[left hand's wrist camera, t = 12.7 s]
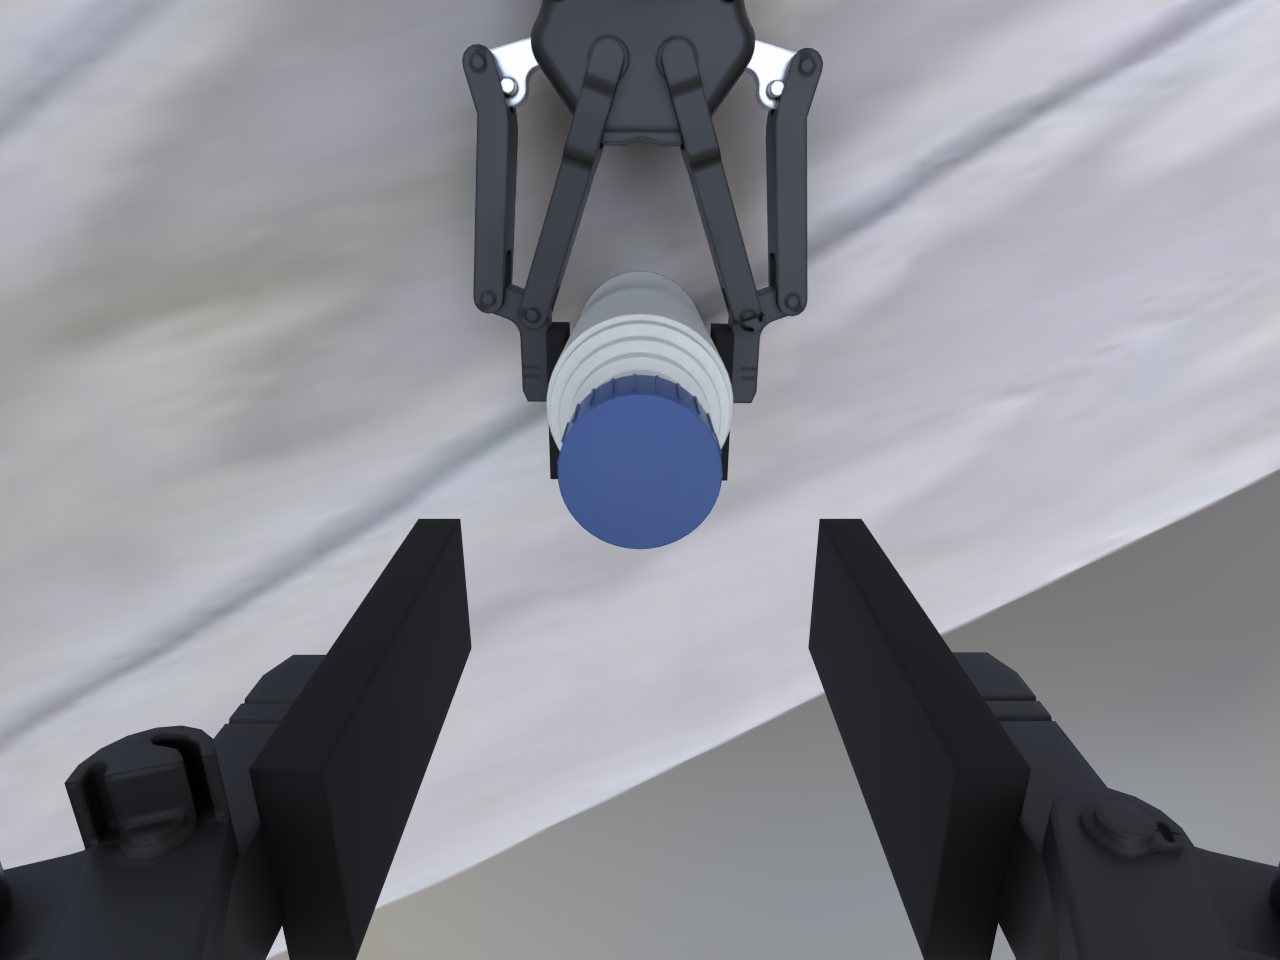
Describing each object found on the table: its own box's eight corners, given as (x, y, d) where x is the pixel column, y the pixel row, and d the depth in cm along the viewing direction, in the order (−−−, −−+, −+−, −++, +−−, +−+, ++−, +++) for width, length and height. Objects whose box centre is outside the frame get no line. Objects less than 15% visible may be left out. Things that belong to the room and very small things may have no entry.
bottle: (727, 335, 40) (810, 470, 21) (639, 418, 42) (638, 618, 22) (640, 243, 39) (641, 296, 19) (552, 334, 40) (469, 469, 21)
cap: (747, 447, 22) (759, 474, 20) (639, 545, 23) (638, 581, 21) (641, 339, 21) (641, 356, 19) (531, 447, 22) (520, 474, 20)
